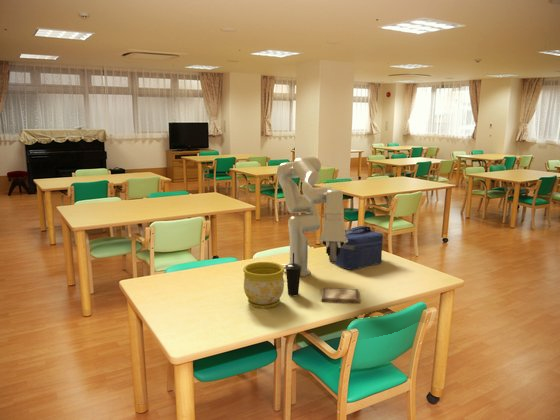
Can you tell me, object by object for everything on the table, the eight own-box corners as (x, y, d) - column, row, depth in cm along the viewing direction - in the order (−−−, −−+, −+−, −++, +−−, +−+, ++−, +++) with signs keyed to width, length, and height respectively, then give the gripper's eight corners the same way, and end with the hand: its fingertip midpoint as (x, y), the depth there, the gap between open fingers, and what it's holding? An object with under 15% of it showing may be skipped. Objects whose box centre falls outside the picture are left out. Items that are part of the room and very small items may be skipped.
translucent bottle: (328, 262, 203) (329, 235, 200) (328, 260, 206) (329, 233, 204) (336, 262, 202) (337, 235, 200) (336, 260, 206) (337, 233, 203)
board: (321, 301, 198) (321, 298, 198) (322, 289, 212) (322, 286, 212) (359, 303, 196) (359, 300, 196) (358, 291, 210) (358, 288, 210)
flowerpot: (269, 314, 184) (269, 277, 181) (235, 305, 194) (234, 270, 190) (291, 300, 199) (291, 265, 196) (258, 292, 209) (258, 259, 205)
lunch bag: (363, 253, 272) (364, 220, 268) (389, 262, 255) (391, 227, 251) (325, 262, 254) (326, 227, 250) (350, 272, 237) (352, 235, 233)
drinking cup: (289, 298, 202) (290, 256, 198) (282, 292, 208) (282, 252, 204) (304, 295, 205) (304, 254, 201) (296, 289, 212) (296, 250, 208)
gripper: (315, 217, 198) (314, 257, 201) (352, 218, 196) (351, 258, 199) (316, 214, 205) (315, 252, 208) (351, 215, 203) (350, 253, 206)
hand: (333, 254), depth 204 cm, fingers closed on translucent bottle, 3 cm apart
